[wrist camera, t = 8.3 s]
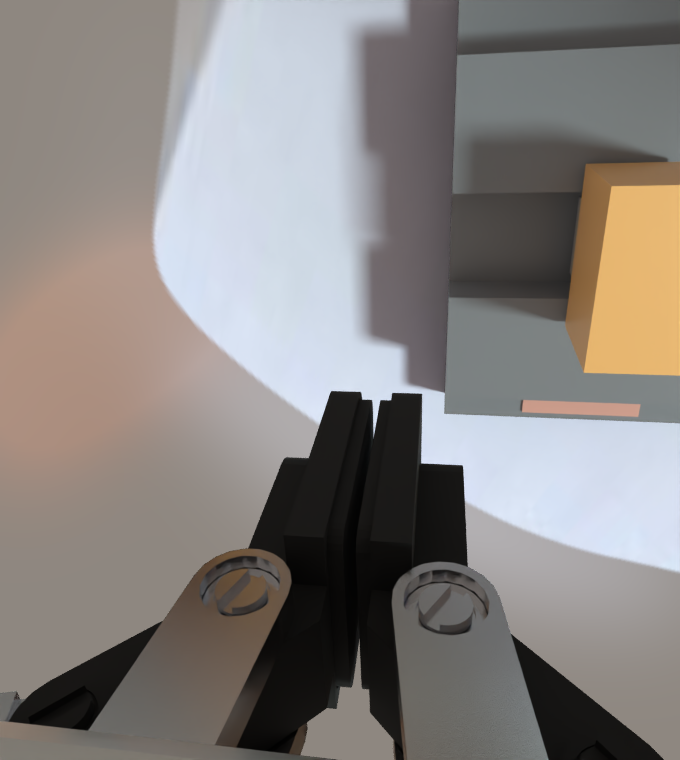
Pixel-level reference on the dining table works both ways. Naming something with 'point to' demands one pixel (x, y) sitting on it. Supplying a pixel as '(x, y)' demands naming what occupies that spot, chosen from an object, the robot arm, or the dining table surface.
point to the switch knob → (627, 270)
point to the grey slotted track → (547, 193)
